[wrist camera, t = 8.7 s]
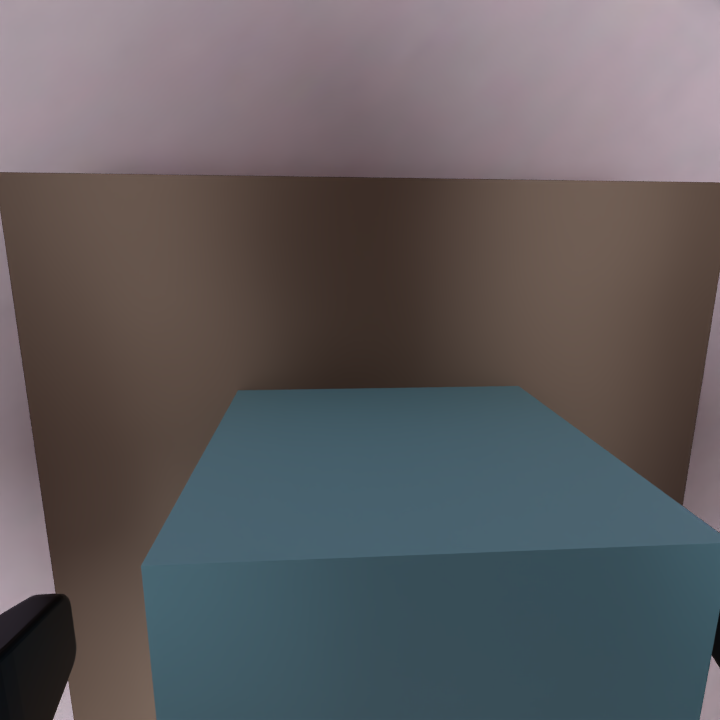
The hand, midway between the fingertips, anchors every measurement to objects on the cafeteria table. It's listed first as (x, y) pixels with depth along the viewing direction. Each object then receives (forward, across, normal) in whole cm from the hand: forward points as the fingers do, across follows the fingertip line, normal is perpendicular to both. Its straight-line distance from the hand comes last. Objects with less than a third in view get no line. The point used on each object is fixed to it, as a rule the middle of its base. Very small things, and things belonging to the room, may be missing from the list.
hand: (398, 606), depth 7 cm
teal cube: (+2, 0, 0) cm, 2 cm away
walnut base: (+6, 0, 0) cm, 6 cm away
